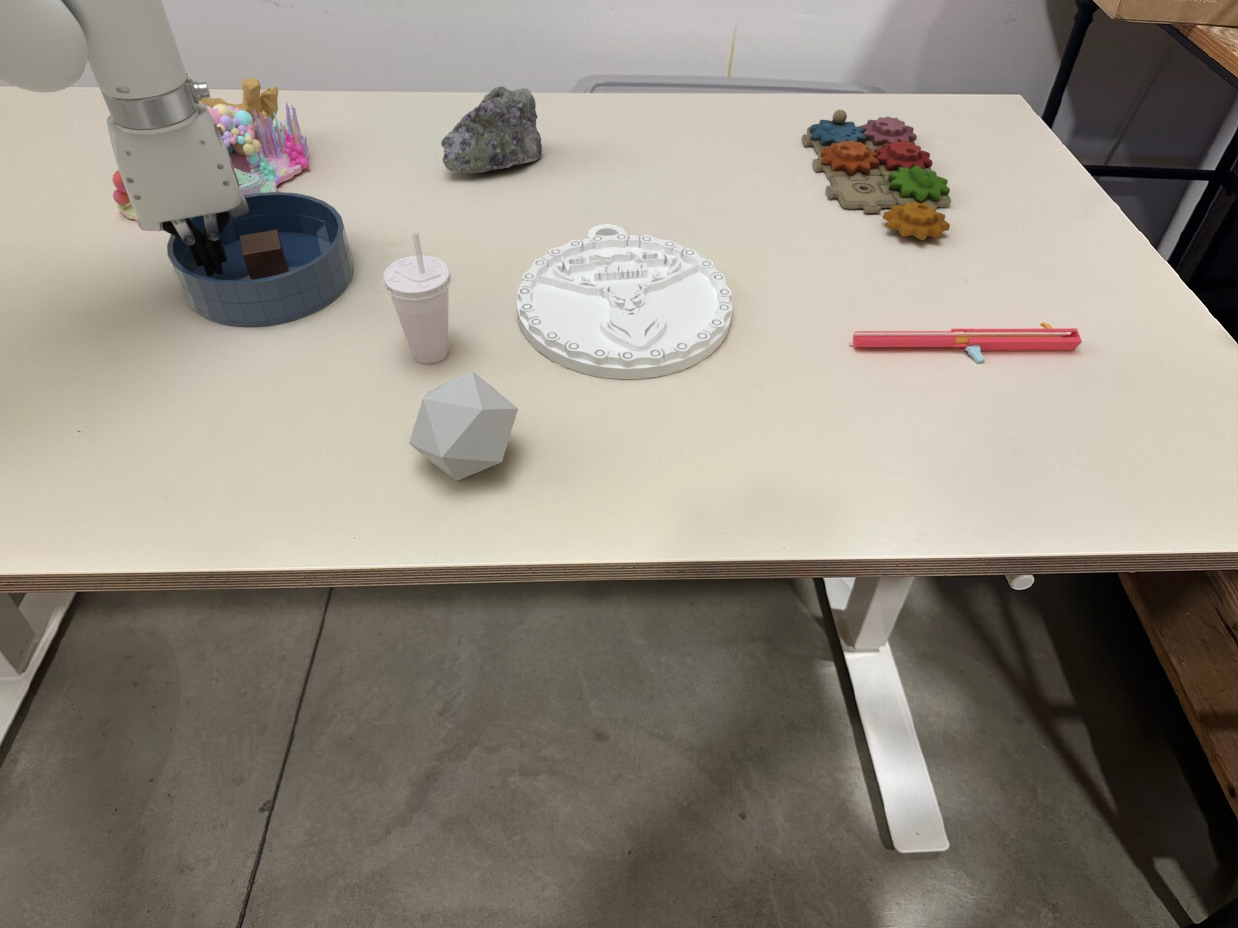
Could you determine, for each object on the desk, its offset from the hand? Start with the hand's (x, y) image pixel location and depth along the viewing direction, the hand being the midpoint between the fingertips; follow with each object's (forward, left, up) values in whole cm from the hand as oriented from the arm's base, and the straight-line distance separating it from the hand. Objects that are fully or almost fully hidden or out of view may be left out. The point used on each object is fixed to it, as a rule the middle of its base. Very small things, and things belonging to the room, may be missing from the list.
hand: (214, 268), depth 94 cm
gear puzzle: (+83, -4, -3) cm, 83 cm away
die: (+19, -35, -3) cm, 40 cm away
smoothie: (+19, -19, -3) cm, 27 cm away
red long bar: (+72, -37, -3) cm, 81 cm away
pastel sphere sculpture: (+1, +26, -3) cm, 26 cm away
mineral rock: (+36, +18, -3) cm, 41 cm away
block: (+5, 0, -2) cm, 6 cm away
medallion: (+41, -17, -3) cm, 45 cm away
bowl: (+5, 0, -2) cm, 6 cm away
